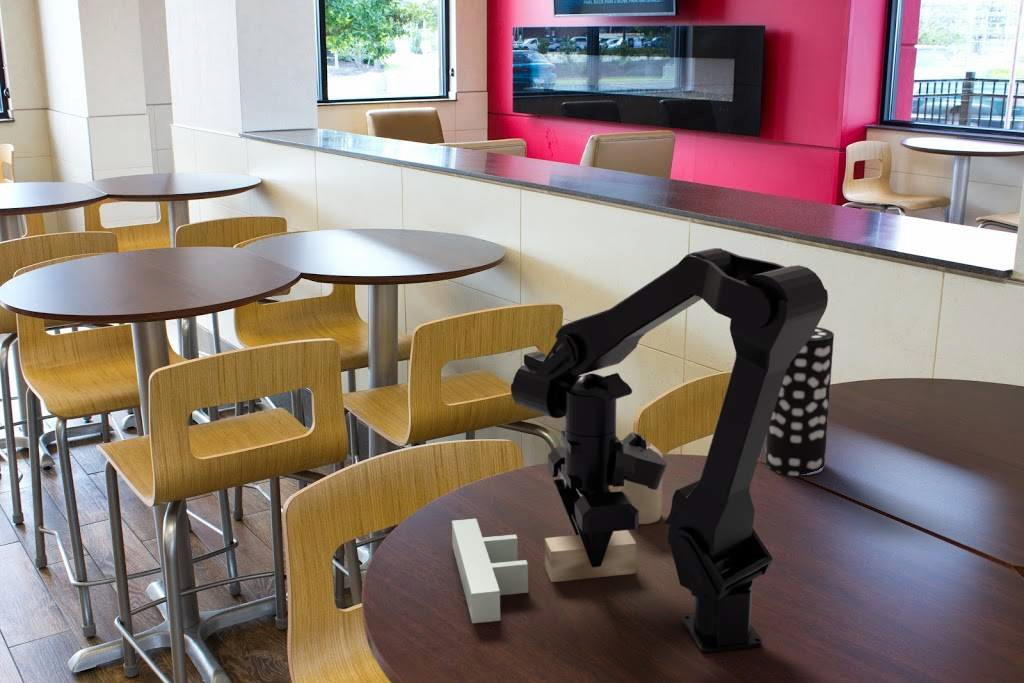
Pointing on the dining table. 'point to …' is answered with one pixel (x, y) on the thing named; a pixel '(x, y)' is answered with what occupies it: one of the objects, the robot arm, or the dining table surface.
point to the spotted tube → (802, 410)
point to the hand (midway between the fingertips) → (589, 554)
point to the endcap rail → (487, 569)
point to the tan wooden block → (572, 561)
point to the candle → (645, 497)
